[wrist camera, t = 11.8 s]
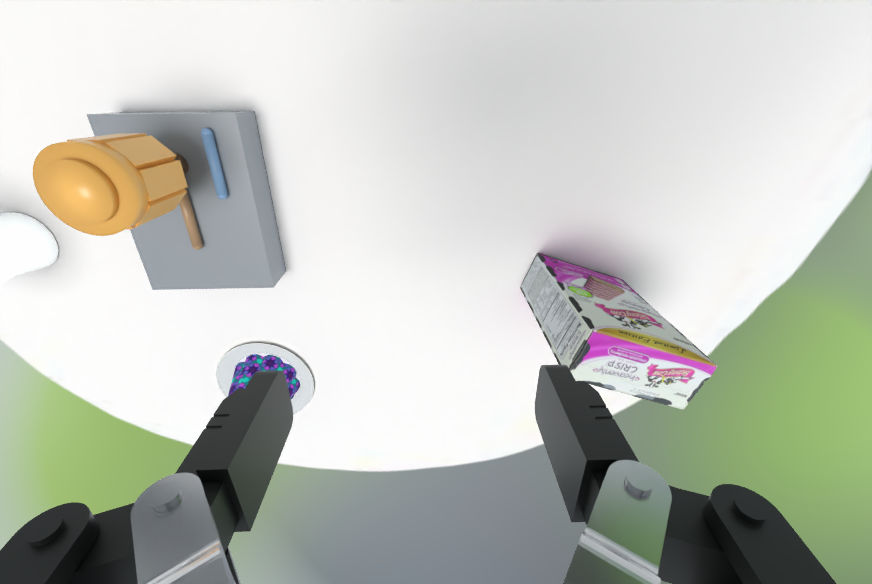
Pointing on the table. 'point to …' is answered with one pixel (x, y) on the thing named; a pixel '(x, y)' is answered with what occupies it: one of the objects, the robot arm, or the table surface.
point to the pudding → (267, 363)
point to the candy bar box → (612, 334)
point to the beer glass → (24, 245)
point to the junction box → (208, 202)
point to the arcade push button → (109, 181)
